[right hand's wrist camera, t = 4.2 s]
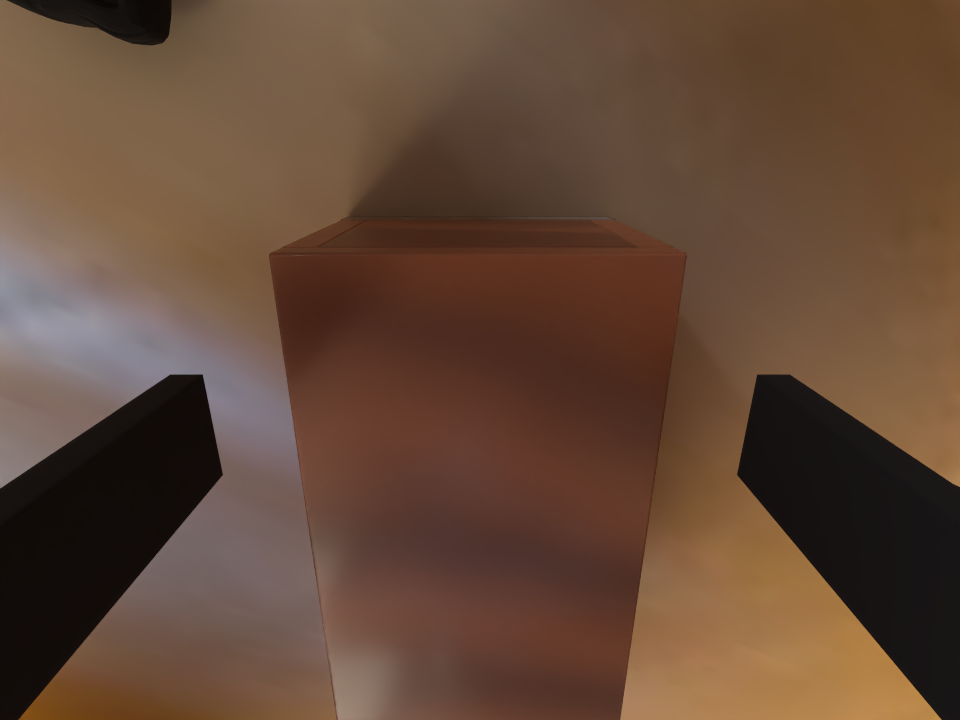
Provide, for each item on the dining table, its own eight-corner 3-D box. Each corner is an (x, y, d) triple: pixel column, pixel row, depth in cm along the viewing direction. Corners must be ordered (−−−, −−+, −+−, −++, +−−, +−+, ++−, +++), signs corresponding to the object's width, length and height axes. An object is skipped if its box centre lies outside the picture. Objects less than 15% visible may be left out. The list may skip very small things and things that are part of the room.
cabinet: (576, 593, 29) (614, 763, 20) (380, 593, 29) (342, 764, 20) (609, 216, 21) (689, 252, 13) (346, 216, 21) (266, 252, 13)
